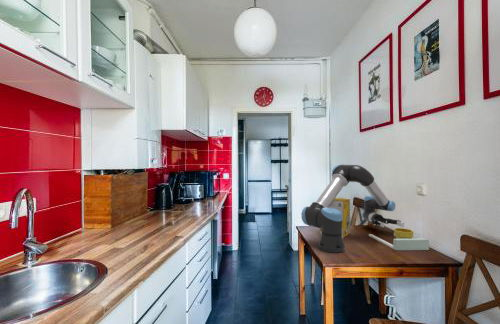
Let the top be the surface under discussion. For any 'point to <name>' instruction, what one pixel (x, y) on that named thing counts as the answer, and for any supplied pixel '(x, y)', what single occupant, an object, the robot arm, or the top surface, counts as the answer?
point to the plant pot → (403, 233)
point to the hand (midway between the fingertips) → (393, 225)
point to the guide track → (406, 243)
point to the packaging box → (343, 213)
